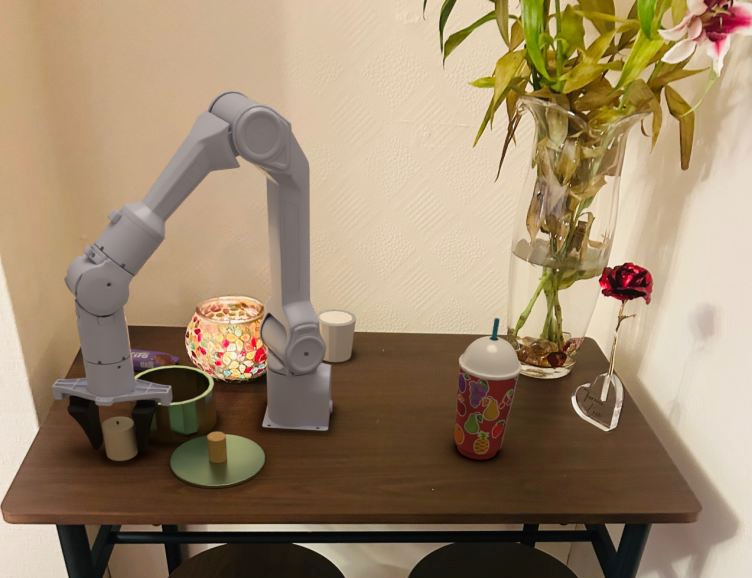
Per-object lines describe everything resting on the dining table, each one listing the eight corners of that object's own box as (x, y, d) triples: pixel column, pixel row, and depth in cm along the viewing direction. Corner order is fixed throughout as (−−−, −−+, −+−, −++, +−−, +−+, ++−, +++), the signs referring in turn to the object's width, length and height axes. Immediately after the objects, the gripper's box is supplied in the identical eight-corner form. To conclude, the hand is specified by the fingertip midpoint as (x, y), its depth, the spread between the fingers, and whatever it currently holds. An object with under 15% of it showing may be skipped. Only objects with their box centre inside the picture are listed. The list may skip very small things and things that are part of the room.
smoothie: (511, 441, 113) (534, 313, 102) (499, 471, 106) (523, 337, 95) (456, 429, 115) (473, 302, 104) (440, 457, 108) (457, 324, 97)
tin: (222, 406, 116) (220, 367, 113) (208, 447, 107) (204, 407, 103) (145, 401, 116) (140, 363, 112) (123, 442, 107) (117, 402, 103)
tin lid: (270, 443, 109) (270, 414, 106) (258, 494, 99) (257, 465, 96) (182, 438, 108) (179, 409, 106) (160, 489, 98) (156, 459, 96)
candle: (141, 448, 106) (137, 414, 103) (133, 465, 102) (128, 430, 99) (112, 447, 105) (106, 412, 102) (103, 463, 102) (97, 428, 99)
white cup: (314, 346, 136) (314, 308, 132) (353, 346, 136) (354, 309, 132) (315, 363, 130) (315, 324, 126) (356, 364, 131) (357, 325, 127)
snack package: (98, 357, 123) (111, 344, 127) (100, 368, 124) (112, 355, 128) (169, 365, 122) (179, 352, 126) (170, 376, 123) (180, 362, 127)
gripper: (35, 365, 92) (55, 460, 100) (158, 372, 92) (169, 466, 100) (56, 340, 98) (74, 432, 105) (171, 347, 98) (181, 437, 106)
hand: (121, 447), depth 103 cm, fingers open, 5 cm apart
